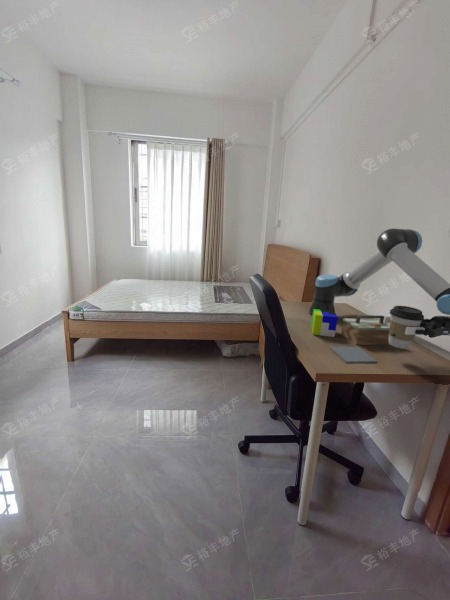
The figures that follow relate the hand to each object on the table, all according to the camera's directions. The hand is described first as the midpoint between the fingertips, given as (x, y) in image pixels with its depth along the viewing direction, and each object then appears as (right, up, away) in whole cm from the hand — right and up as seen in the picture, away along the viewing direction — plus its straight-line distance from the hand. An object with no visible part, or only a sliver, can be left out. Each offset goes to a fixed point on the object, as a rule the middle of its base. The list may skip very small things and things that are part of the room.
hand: (394, 324), depth 106 cm
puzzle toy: (-17, -7, +31) cm, 36 cm away
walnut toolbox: (+1, -9, +25) cm, 26 cm away
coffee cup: (+3, -8, +3) cm, 10 cm away
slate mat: (-13, -13, +7) cm, 20 cm away
